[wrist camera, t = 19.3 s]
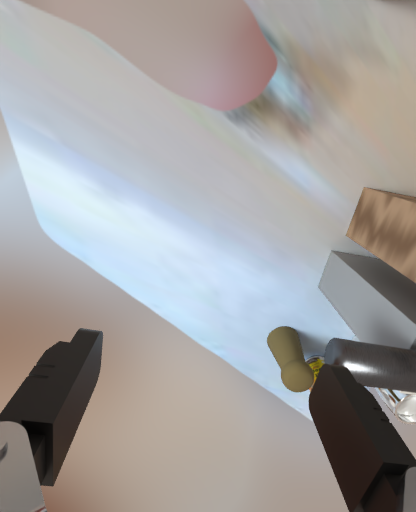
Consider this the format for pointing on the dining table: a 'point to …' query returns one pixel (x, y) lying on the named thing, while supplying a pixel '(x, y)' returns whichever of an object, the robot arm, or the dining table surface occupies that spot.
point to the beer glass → (398, 402)
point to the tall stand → (387, 228)
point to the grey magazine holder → (372, 299)
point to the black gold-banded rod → (375, 363)
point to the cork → (290, 359)
